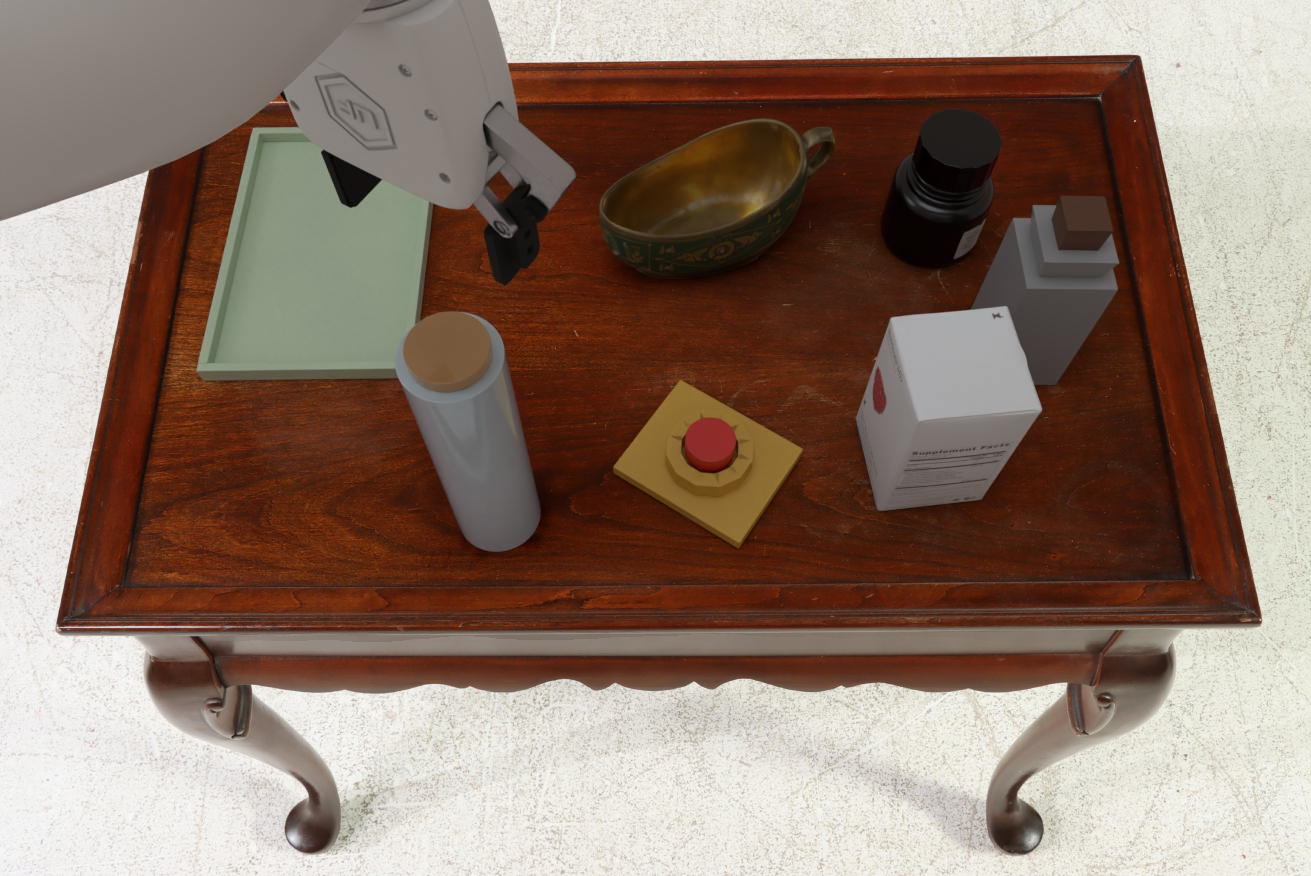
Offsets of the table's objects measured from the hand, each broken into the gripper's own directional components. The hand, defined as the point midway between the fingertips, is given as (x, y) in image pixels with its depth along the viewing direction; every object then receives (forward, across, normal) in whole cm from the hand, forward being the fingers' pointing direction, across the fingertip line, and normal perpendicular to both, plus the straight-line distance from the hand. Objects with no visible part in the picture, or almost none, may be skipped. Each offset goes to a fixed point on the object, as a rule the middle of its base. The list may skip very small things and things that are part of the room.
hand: (440, 225), depth 53 cm
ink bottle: (+34, +17, +42) cm, 57 cm away
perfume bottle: (+34, +29, +34) cm, 56 cm away
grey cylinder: (+34, 0, -2) cm, 34 cm away
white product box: (+34, +26, +20) cm, 47 cm away
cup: (+34, +1, +31) cm, 46 cm away
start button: (+31, +12, +11) cm, 35 cm away
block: (+34, +12, +11) cm, 37 cm away
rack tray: (+34, -29, +12) cm, 46 cm away
